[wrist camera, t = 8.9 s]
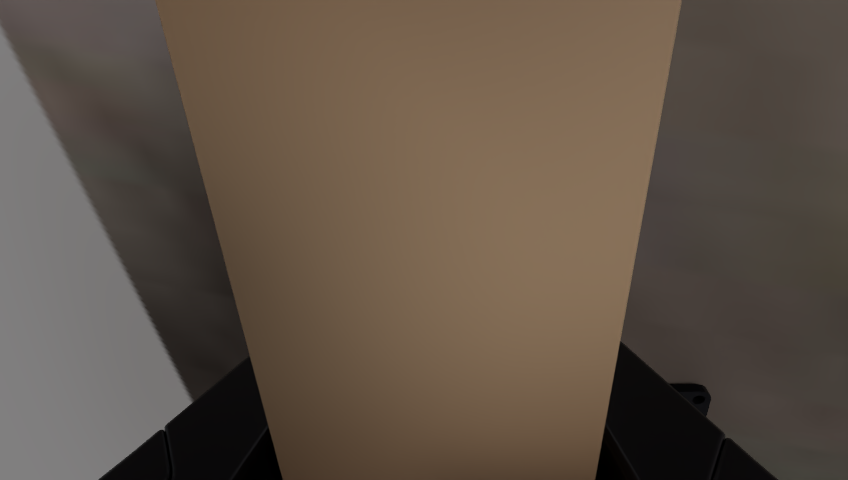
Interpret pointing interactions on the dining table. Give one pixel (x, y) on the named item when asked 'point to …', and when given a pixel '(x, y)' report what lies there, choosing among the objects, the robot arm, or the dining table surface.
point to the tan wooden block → (427, 219)
